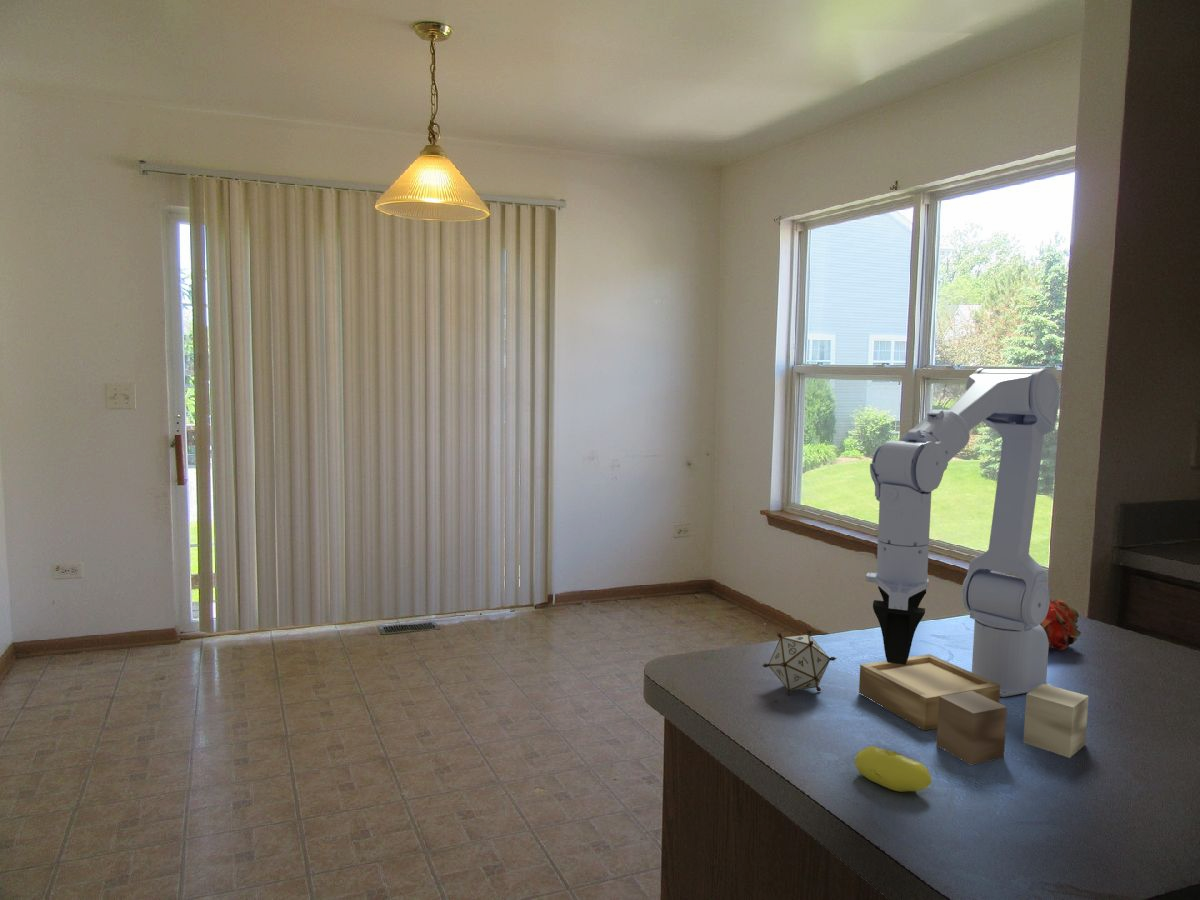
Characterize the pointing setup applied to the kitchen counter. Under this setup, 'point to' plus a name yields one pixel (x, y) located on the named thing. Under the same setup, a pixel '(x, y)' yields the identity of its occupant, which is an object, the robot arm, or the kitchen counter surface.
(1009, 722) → the kitchen counter surface
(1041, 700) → the maple cube
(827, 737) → the kitchen counter surface
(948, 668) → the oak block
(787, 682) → the game die
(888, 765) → the yellow oval lump
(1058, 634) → the dragon fruit
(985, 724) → the walnut cube
